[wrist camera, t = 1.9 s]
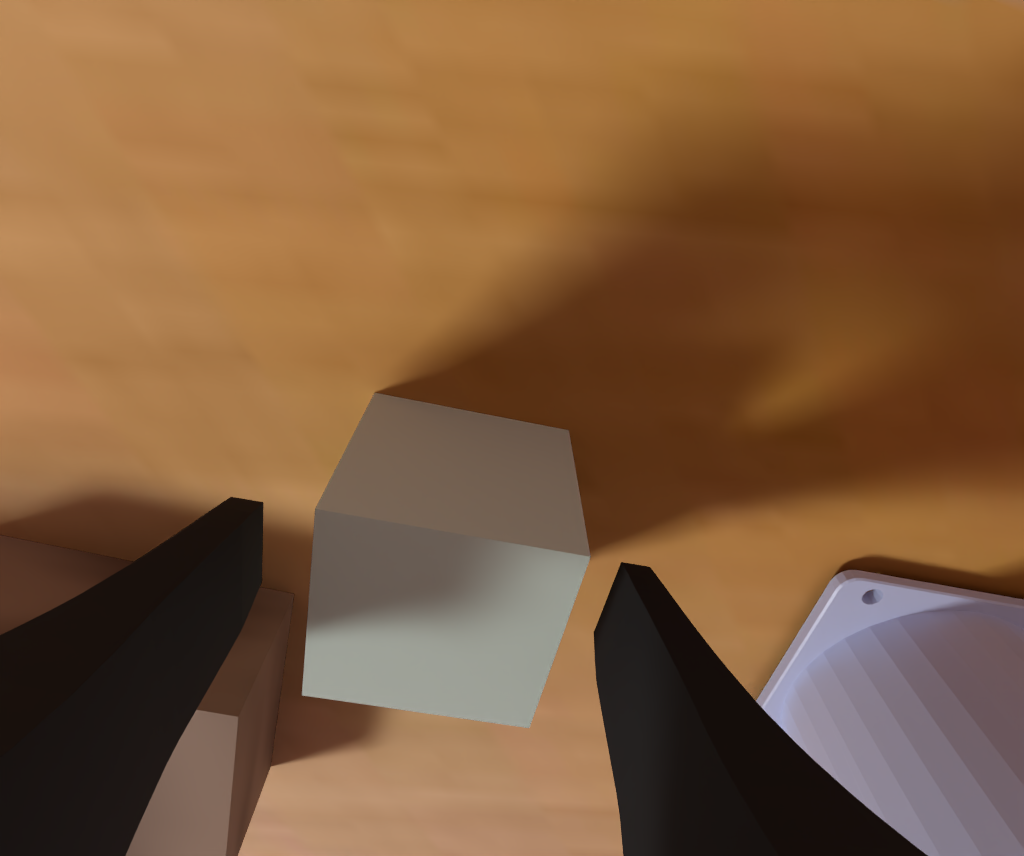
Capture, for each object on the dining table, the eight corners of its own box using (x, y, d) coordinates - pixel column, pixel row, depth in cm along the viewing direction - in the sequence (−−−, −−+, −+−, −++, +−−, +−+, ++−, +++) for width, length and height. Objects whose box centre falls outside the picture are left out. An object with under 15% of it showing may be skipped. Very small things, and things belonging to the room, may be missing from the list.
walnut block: (297, 586, 16) (238, 717, 13) (273, 758, 20) (221, 897, 16) (-13, 524, 15) (-172, 646, 12) (20, 717, 19) (-92, 855, 15)
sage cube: (568, 428, 14) (590, 557, 10) (525, 573, 16) (528, 728, 12) (375, 390, 13) (315, 508, 9) (357, 544, 15) (302, 695, 11)
